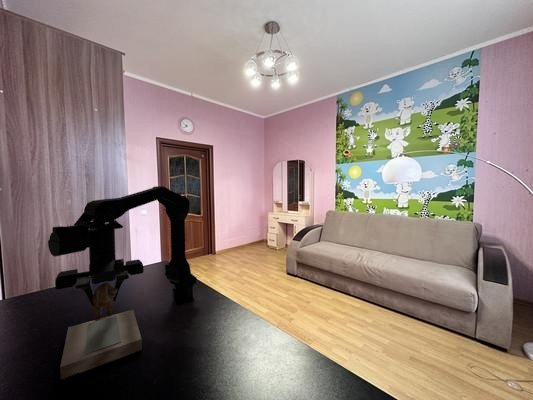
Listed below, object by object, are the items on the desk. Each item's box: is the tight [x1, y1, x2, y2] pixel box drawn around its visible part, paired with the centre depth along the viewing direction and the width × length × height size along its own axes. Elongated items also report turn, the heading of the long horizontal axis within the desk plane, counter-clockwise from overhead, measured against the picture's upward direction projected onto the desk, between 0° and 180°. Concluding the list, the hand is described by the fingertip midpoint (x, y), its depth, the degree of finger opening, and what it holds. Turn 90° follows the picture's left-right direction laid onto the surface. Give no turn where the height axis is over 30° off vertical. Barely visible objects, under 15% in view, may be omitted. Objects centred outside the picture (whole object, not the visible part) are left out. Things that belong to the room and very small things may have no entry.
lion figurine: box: [92, 282, 118, 321], centre depth 63 cm, size 15×5×9 cm, turn 41°
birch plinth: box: [59, 309, 143, 380], centre depth 63 cm, size 16×18×3 cm
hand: (104, 303), depth 62 cm, fingers closed on lion figurine, 4 cm apart
